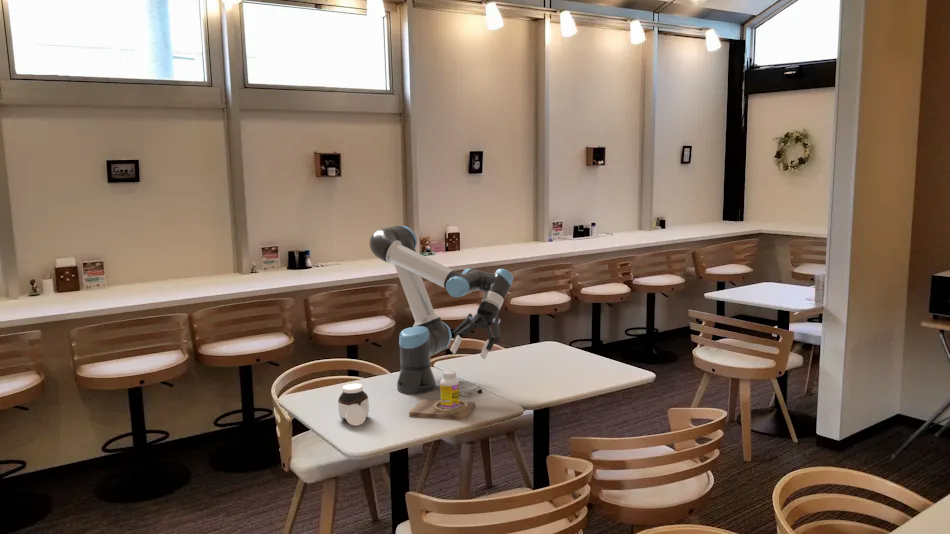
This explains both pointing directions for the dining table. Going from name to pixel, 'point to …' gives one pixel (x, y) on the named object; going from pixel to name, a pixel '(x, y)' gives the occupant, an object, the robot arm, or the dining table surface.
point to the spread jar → (353, 404)
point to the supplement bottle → (450, 390)
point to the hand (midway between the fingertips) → (467, 354)
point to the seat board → (441, 410)
